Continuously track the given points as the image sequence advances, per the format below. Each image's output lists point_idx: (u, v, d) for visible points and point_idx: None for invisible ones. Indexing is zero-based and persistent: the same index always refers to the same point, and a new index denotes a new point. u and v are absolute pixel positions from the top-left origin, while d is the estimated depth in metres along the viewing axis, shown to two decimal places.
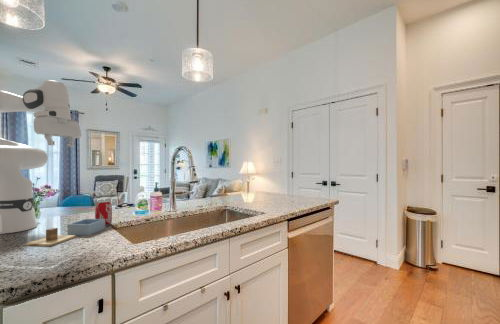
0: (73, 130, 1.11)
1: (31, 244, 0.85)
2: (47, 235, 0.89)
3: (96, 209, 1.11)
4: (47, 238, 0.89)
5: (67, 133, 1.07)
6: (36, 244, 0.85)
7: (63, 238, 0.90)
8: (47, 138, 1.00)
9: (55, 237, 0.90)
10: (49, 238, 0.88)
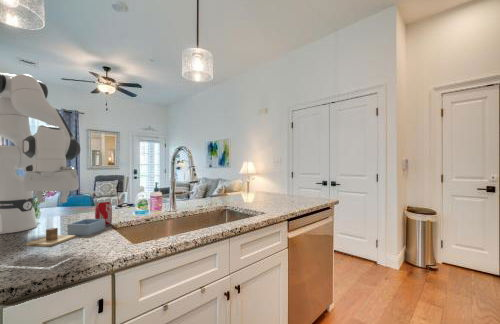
0: (60, 183, 0.87)
1: (31, 244, 0.85)
2: (47, 235, 0.89)
3: (96, 209, 1.11)
4: (47, 238, 0.89)
5: (51, 187, 0.88)
6: (36, 244, 0.85)
7: (63, 238, 0.90)
8: None
9: (55, 237, 0.90)
10: (49, 238, 0.88)
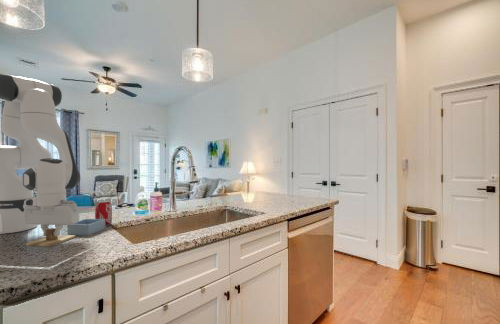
0: (60, 217, 0.87)
1: (31, 244, 0.85)
2: (47, 235, 0.89)
3: (96, 209, 1.11)
4: (47, 238, 0.89)
5: (51, 222, 0.88)
6: (36, 244, 0.85)
7: (63, 238, 0.90)
8: None
9: (55, 237, 0.90)
10: (49, 238, 0.88)
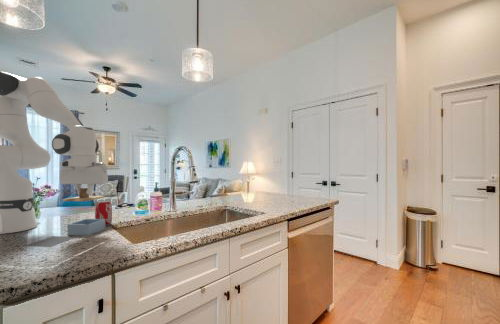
0: (92, 177, 0.98)
1: (67, 200, 0.96)
2: (80, 193, 0.99)
3: (96, 209, 1.11)
4: (80, 196, 0.99)
5: (84, 181, 0.99)
6: (72, 200, 0.95)
7: (94, 197, 1.01)
8: None
9: (87, 196, 1.01)
10: (82, 196, 0.99)
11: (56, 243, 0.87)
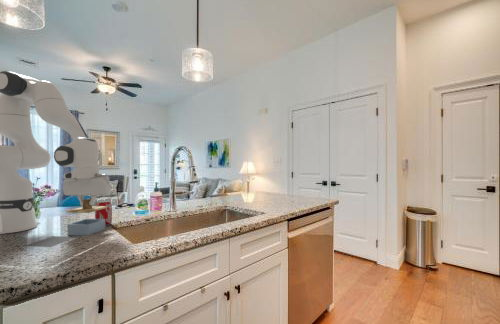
0: (95, 188, 0.99)
1: (71, 211, 0.97)
2: (83, 204, 1.01)
3: None
4: (83, 207, 1.01)
5: (87, 192, 1.00)
6: (75, 211, 0.97)
7: (97, 207, 1.02)
8: None
9: (90, 206, 1.02)
10: (85, 207, 1.00)
11: (56, 243, 0.87)
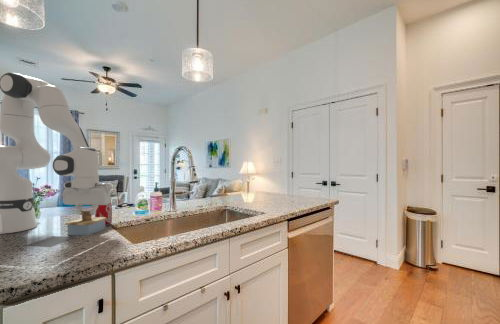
0: (95, 198, 0.99)
1: (70, 223, 0.97)
2: (83, 216, 1.01)
3: None
4: (83, 219, 1.01)
5: (87, 202, 1.00)
6: (75, 223, 0.97)
7: (96, 219, 1.02)
8: None
9: (89, 218, 1.02)
10: (85, 219, 1.00)
11: (56, 243, 0.87)
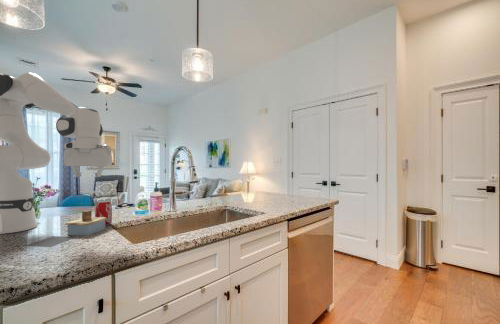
0: (96, 159, 0.98)
1: (70, 223, 0.97)
2: (83, 216, 1.01)
3: (96, 209, 1.11)
4: (83, 219, 1.01)
5: (88, 163, 0.98)
6: (75, 223, 0.97)
7: (96, 219, 1.02)
8: None
9: (89, 218, 1.02)
10: (85, 219, 1.00)
11: (56, 243, 0.87)
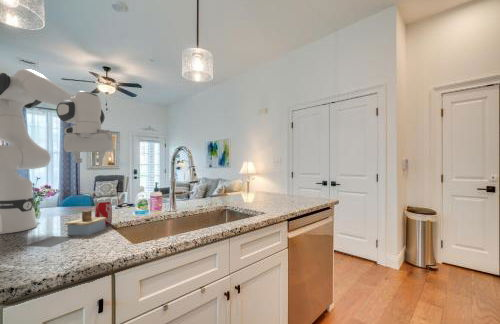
0: (97, 144, 0.96)
1: (70, 223, 0.97)
2: (83, 216, 1.01)
3: (96, 209, 1.11)
4: (83, 219, 1.01)
5: (89, 148, 0.96)
6: (75, 223, 0.97)
7: (96, 219, 1.02)
8: None
9: (89, 218, 1.02)
10: (85, 219, 1.00)
11: (56, 243, 0.87)
